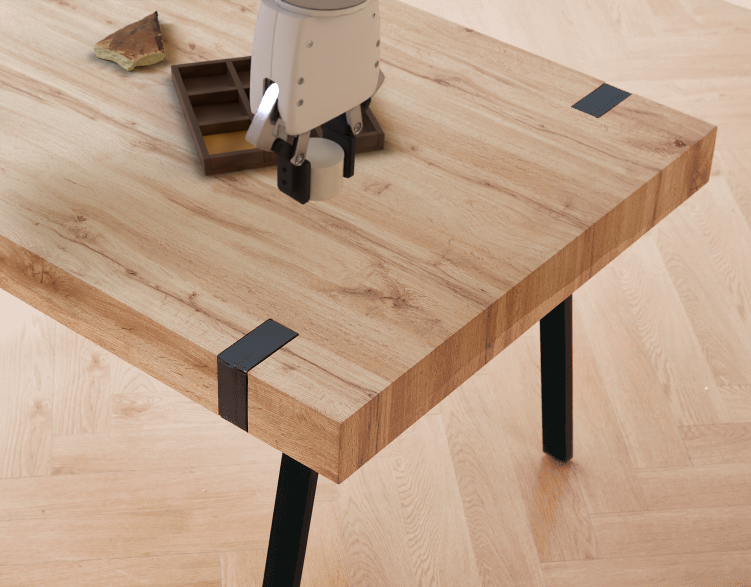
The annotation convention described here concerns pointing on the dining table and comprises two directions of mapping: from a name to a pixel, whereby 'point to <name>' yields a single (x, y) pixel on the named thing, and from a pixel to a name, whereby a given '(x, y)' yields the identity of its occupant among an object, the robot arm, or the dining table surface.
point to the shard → (134, 44)
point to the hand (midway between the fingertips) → (315, 181)
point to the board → (236, 116)
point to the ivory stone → (325, 168)
